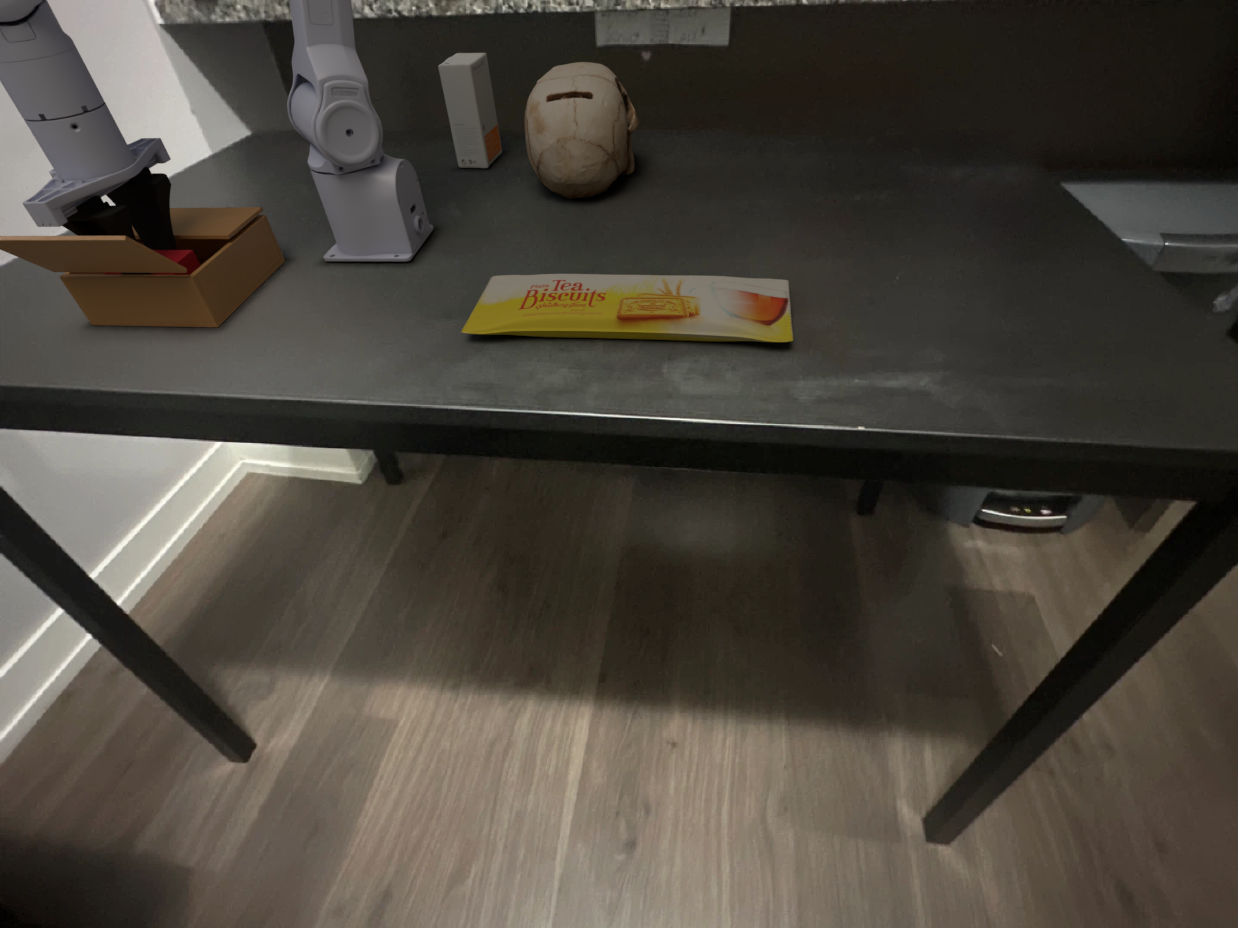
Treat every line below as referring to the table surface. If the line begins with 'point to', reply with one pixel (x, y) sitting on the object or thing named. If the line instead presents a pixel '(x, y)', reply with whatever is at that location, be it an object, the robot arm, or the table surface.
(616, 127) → the coin bank
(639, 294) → the food package
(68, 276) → the carton
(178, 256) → the red block
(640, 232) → the table surface
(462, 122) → the cosmetic box
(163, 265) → the flap
